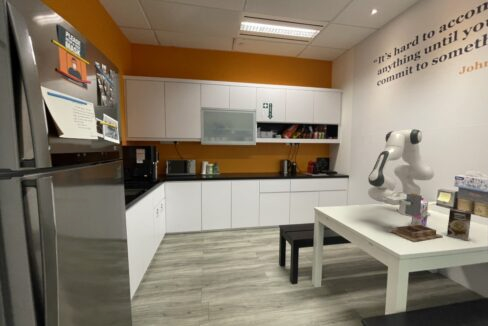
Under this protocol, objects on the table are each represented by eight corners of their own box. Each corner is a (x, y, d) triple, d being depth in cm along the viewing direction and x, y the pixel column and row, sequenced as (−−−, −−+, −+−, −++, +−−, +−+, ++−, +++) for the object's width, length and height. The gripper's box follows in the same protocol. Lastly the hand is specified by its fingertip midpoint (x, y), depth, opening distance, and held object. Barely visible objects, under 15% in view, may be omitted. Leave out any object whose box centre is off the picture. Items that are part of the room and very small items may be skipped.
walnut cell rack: (417, 228, 140) (417, 222, 140) (442, 237, 127) (443, 230, 127) (390, 232, 133) (390, 226, 133) (414, 242, 120) (414, 235, 119)
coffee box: (446, 236, 129) (449, 209, 128) (447, 233, 134) (449, 207, 132) (468, 241, 123) (471, 213, 121) (468, 237, 127) (471, 211, 126)
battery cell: (410, 213, 131) (412, 192, 130) (419, 215, 126) (421, 194, 125) (405, 213, 129) (406, 192, 128) (413, 216, 125) (415, 194, 123)
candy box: (421, 229, 140) (424, 204, 138) (410, 226, 144) (412, 202, 143) (426, 224, 149) (428, 201, 147) (416, 222, 153) (418, 199, 152)
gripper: (380, 193, 136) (402, 199, 123) (403, 192, 142) (427, 197, 129) (379, 203, 136) (401, 210, 123) (403, 201, 143) (426, 207, 130)
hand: (414, 203), depth 126 cm, fingers closed on battery cell, 5 cm apart
